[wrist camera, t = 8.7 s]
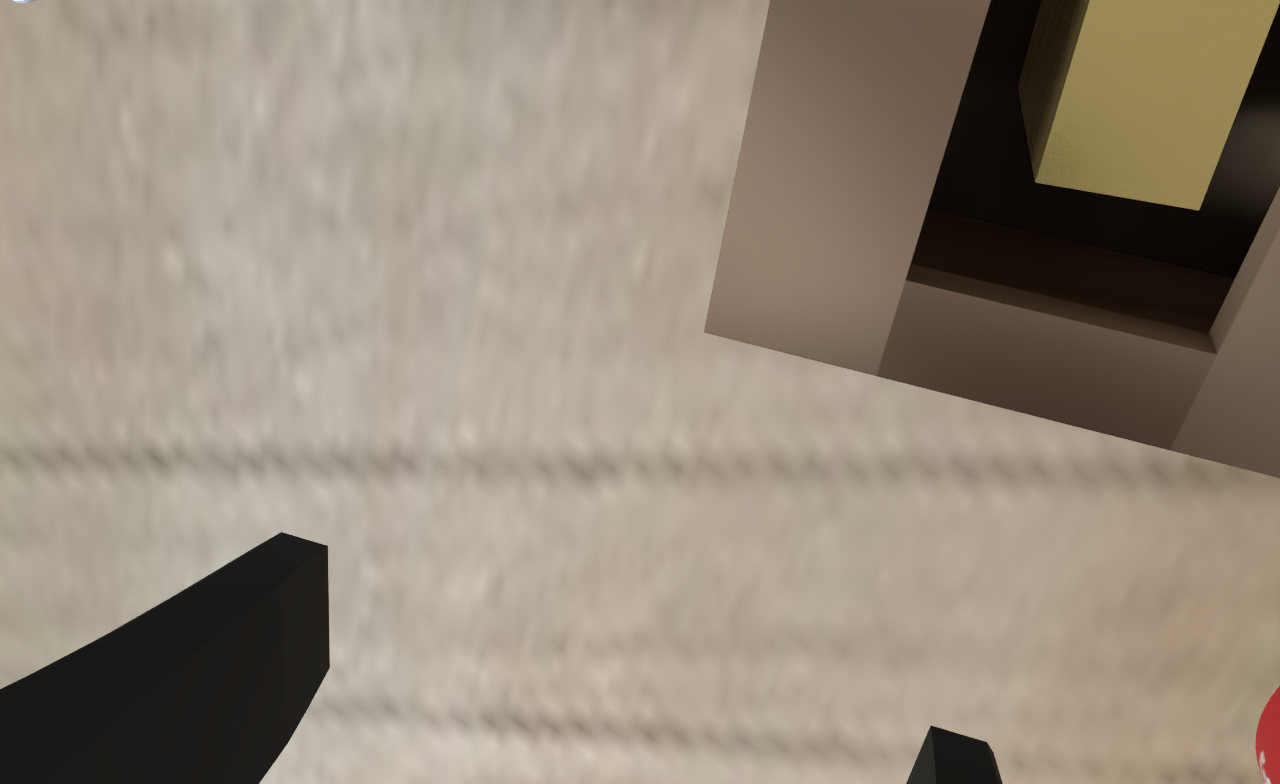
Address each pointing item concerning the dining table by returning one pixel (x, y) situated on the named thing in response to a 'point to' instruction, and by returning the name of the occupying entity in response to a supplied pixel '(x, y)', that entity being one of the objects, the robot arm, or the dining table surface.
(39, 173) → the dining table surface
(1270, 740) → the beverage can
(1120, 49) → the yellow rectangular block
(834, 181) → the box
